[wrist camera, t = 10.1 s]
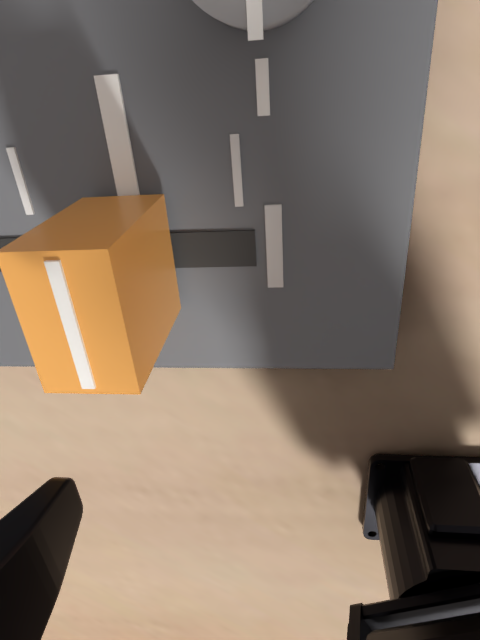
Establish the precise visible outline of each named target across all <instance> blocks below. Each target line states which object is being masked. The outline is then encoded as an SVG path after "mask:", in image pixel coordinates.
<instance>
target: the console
mask: <svg viewBox="0 0 480 640" xmlns="http://www.w3.org/2000/svg"><path fill="white" fill-rule="evenodd" d="M437 4H438V0H0V249H1V248H3V247H4V246H6V245H7V244H9V243H11V242H12V241H14V240H15V239H17V238H19V237H20V236H22V235H23V234H25V233H27V232H28V231H30V230H31V229H33V228H35V227H36V226H38V225H39V224H41V223H43V222H44V221H46V220H47V219H49V218H51V217H52V216H54V215H55V214H57V213H59V212H60V211H62V210H63V209H65V208H67V207H68V206H70V205H71V204H73V203H75V202H76V201H78V200H79V199H81V198H84V197H107V196H130V195H153V194H164V197H165V204H166V211H167V217H168V224H169V231H170V237H171V244H172V251H173V257H174V264H175V271H176V277H177V284H178V291H179V297H180V304H181V309H180V311H179V314H178V316H177V318H176V320H175V322H174V324H173V326H172V328H171V331H170V333H169V335H168V337H167V339H166V341H165V343H164V345H163V347H162V350H161V352H160V354H159V356H158V358H157V360H156V362H155V364H154V366H153V367H168V368H297V369H394V362H395V354H396V346H397V337H398V329H399V321H400V312H401V304H402V296H403V287H404V279H405V271H406V262H407V254H408V246H409V237H410V229H411V221H412V212H413V204H414V196H415V187H416V179H417V171H418V162H419V154H420V146H421V137H422V129H423V121H424V112H425V104H426V96H427V87H428V79H429V71H430V62H431V54H432V46H433V37H434V29H435V21H436V12H437ZM0 366H35V364H34V361H33V359H32V356H31V353H30V350H29V347H28V344H27V342H26V339H25V336H24V333H23V330H22V327H21V325H20V322H19V319H18V316H17V313H16V311H15V308H14V305H13V302H12V299H11V296H10V294H9V291H8V288H7V285H6V282H5V279H4V277H3V274H2V271H1V268H0Z"/></svg>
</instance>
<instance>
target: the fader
mask: <svg viewBox="0 0 480 640" xmlns="http://www.w3.org/2000/svg"><path fill="white" fill-rule="evenodd" d="M0 268H1V271H2V274H3V277H4V279H5V282H6V285H7V288H8V291H9V294H10V296H11V299H12V302H13V305H14V308H15V311H16V313H17V316H18V319H19V322H20V325H21V327H22V330H23V333H24V336H25V339H26V342H27V344H28V347H29V350H30V353H31V356H32V359H33V361H34V364H35V367H36V370H37V373H38V375H39V378H40V381H41V384H42V387H43V390H44V392H45V393H85V394H141V392H142V390H143V388H144V385H145V383H146V381H147V379H148V377H149V375H150V373H151V371H152V369H153V366H154V364H155V362H156V360H157V358H158V356H159V354H160V352H161V350H162V347H163V345H164V343H165V341H166V339H167V337H168V335H169V333H170V331H171V328H172V326H173V324H174V322H175V320H176V318H177V316H178V314H179V311H180V309H181V304H180V297H179V291H178V284H177V277H176V271H175V264H174V257H173V251H172V244H171V237H170V231H169V224H168V217H167V211H166V204H165V197H164V194H153V195H130V196H107V197H84V198H81V199H79V200H78V201H76V202H75V203H73V204H71V205H70V206H68V207H67V208H65V209H63V210H62V211H60V212H59V213H57V214H55V215H54V216H52V217H51V218H49V219H47V220H46V221H44V222H43V223H41V224H39V225H38V226H36V227H35V228H33V229H31V230H30V231H28V232H27V233H25V234H23V235H22V236H20V237H19V238H17V239H15V240H14V241H12V242H11V243H9V244H7V245H6V246H4V247H3V248H1V249H0Z"/></svg>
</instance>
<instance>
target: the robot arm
mask: <svg viewBox="0 0 480 640" xmlns="http://www.w3.org/2000/svg"><path fill="white" fill-rule="evenodd" d="M380 463H381V464H380ZM378 464H379V465H378ZM82 513H83V505H82V501H81V498H80V496H79V493H78V490H77V487H76V484H75V482H74V480H73V479H71V478H63V477H54V478H51V479H50V480H48V481H47V482H46V483H44V484H43V485H42V486H41V487H40V488H38V489H37V490H36V491H35V492H33V493H32V494H31V495H30V496H29V497H27V498H26V499H25V500H24V501H22V502H21V503H20V504H19V505H18V506H16V507H15V508H14V509H13V510H11V511H10V512H9V513H8V514H7V515H5V516H4V517H3V518H2V519H0V640H41V638H42V635H43V633H44V630H45V628H46V625H47V623H48V620H49V618H50V615H51V613H52V610H53V608H54V605H55V602H56V600H57V597H58V594H59V592H60V589H61V585H62V582H63V579H64V576H65V572H66V569H67V566H68V562H69V559H70V555H71V552H72V549H73V545H74V542H75V538H76V535H77V531H78V528H79V525H80V521H81V518H82ZM362 528H363V534H364V537H365V538H367V539H371V540H380V545H381V551H382V556H383V562H384V568H385V573H386V579H387V585H388V591H389V596H390V600H386V601H381V602H376V603H370V604H365V605H363V604H362V603H359V604H353V605H350V615H349V624H348V632H347V640H480V457H451V456H419V455H387V454H377V455H374V456H372V457H371V458H370V460H369V467H368V477H367V487H366V497H365V507H364V517H363V527H362Z"/></svg>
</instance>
